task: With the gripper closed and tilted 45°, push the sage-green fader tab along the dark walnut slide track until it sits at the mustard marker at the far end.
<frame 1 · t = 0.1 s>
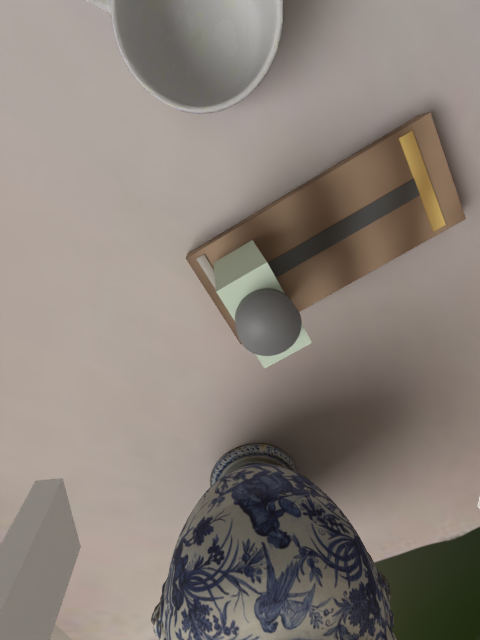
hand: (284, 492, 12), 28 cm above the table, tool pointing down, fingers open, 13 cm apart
fader tab: (259, 301, 31), point 8 cm above the table, slide at 0.0 cm
decorative vase: (254, 477, 48), on the table
fader track: (321, 235, 38), on the table
teacup: (181, 39, 31), on the table
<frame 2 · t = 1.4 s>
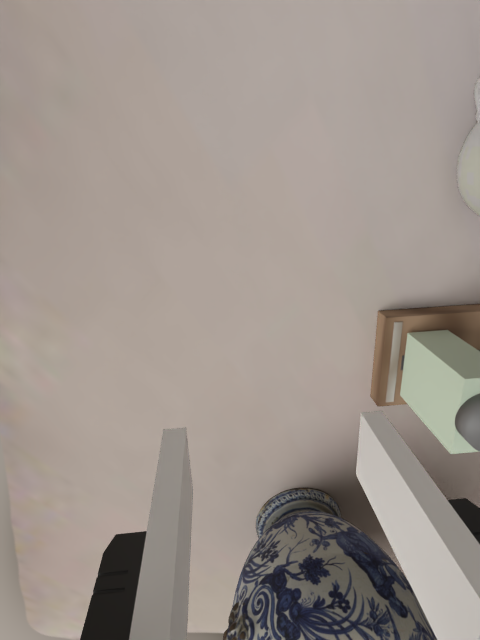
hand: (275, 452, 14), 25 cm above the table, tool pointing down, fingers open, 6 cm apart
fader tab: (454, 391, 34), point 8 cm above the table, slide at 0.0 cm
decorative vase: (298, 519, 49), on the table
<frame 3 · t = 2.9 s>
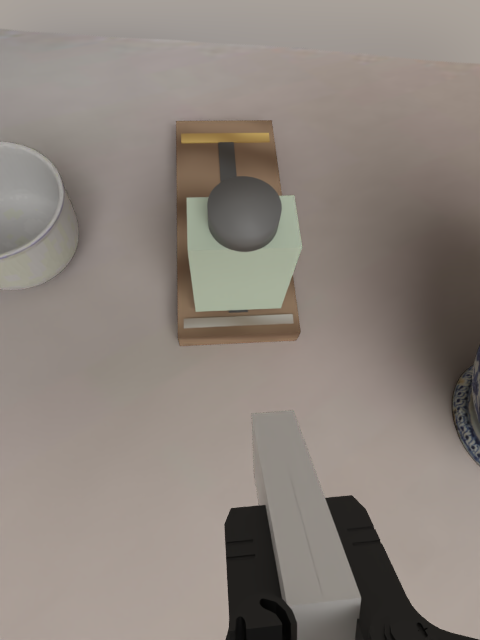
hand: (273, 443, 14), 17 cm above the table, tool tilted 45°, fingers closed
fader tab: (240, 254, 28), point 8 cm above the table, slide at 0.0 cm
fader track: (230, 227, 38), on the table
teacup: (17, 262, 36), on the table
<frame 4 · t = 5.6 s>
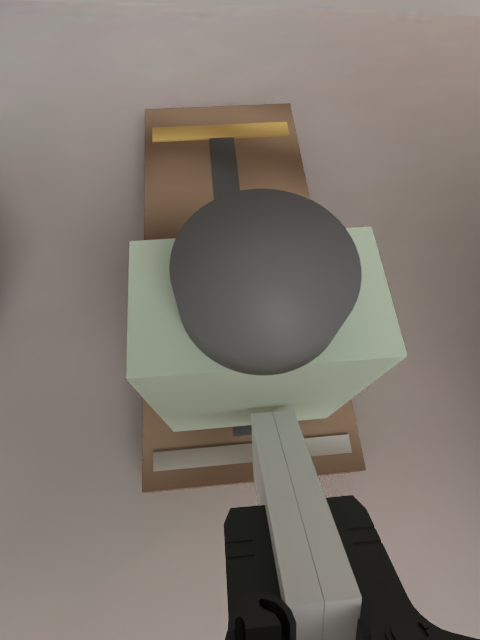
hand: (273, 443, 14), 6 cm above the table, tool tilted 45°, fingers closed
fader tab: (252, 343, 14), point 8 cm above the table, slide at 0.4 cm, touching gripper
fader track: (232, 271, 24), on the table
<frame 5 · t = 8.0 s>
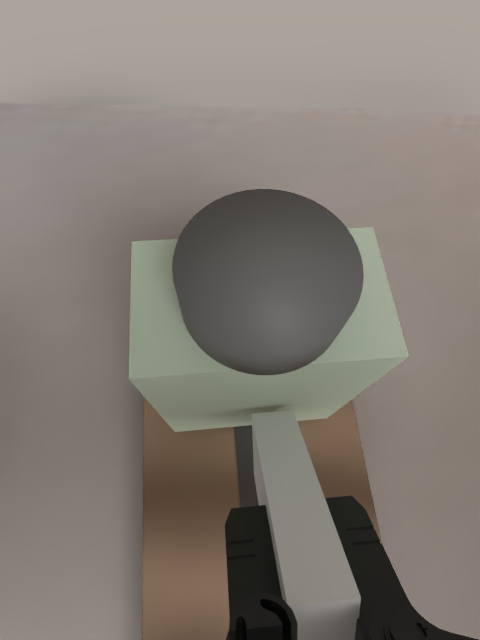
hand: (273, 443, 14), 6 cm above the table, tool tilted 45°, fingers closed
fader tab: (254, 343, 14), point 8 cm above the table, slide at 13.5 cm, touching gripper
fader track: (256, 507, 19), on the table
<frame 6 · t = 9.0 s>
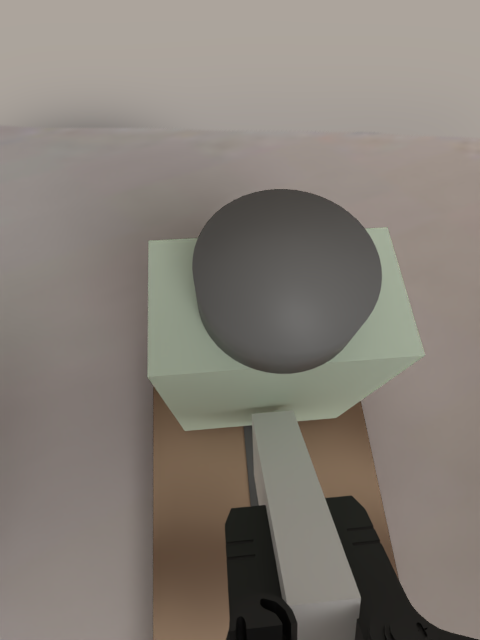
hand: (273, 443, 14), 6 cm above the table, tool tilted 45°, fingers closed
fader tab: (266, 343, 14), point 8 cm above the table, slide at 15.9 cm, touching gripper
fader track: (271, 565, 18), on the table
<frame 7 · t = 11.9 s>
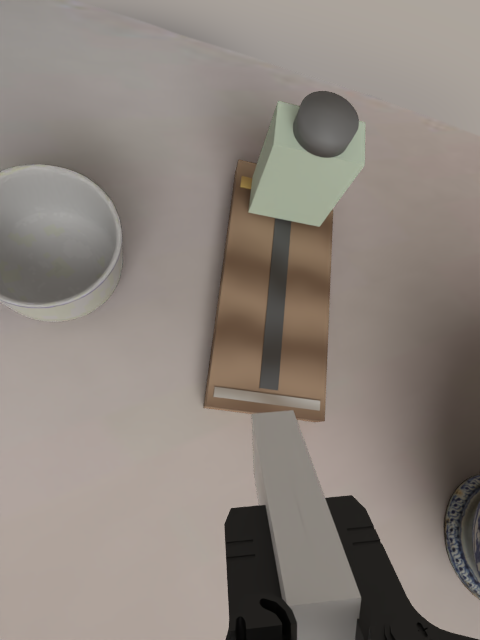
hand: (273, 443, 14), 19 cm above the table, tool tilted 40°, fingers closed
fader tab: (304, 165, 33), point 8 cm above the table, slide at 16.0 cm
fader track: (272, 287, 37), on the table
teacup: (49, 282, 34), on the table
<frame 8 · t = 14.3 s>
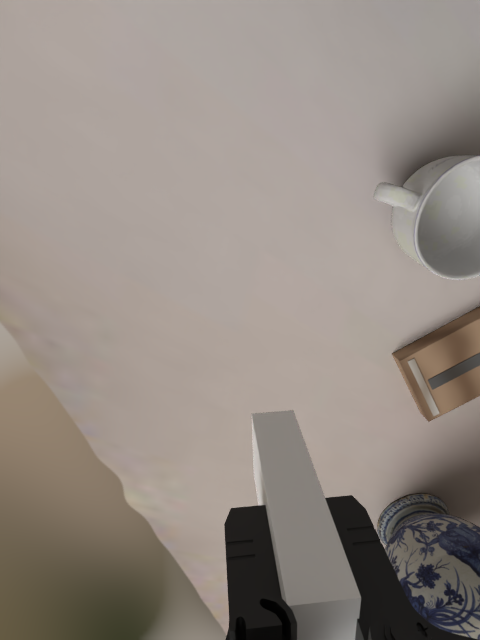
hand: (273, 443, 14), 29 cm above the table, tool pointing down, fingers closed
decorative vase: (412, 519, 58), on the table
teacup: (415, 205, 41), on the table
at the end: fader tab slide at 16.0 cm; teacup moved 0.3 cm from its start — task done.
